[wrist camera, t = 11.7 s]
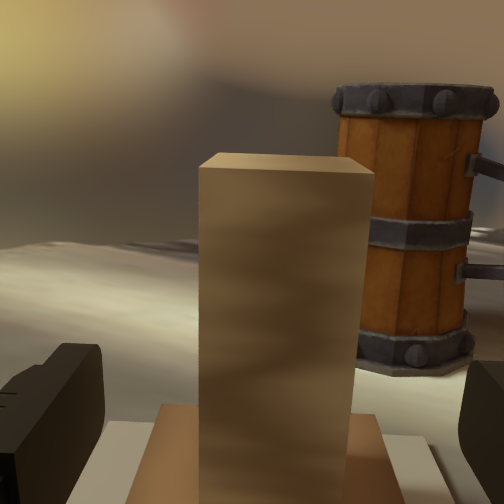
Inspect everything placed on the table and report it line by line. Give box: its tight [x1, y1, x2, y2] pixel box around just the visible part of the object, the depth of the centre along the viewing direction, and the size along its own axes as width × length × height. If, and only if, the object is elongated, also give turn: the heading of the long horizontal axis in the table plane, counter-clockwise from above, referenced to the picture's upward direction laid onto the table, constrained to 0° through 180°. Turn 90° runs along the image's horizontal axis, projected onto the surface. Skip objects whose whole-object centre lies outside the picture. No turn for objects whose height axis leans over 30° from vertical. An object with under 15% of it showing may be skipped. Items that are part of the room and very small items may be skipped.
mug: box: [331, 83, 504, 377], centre depth 37 cm, size 19×14×20 cm
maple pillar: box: [199, 153, 375, 504], centre depth 16 cm, size 4×4×12 cm
